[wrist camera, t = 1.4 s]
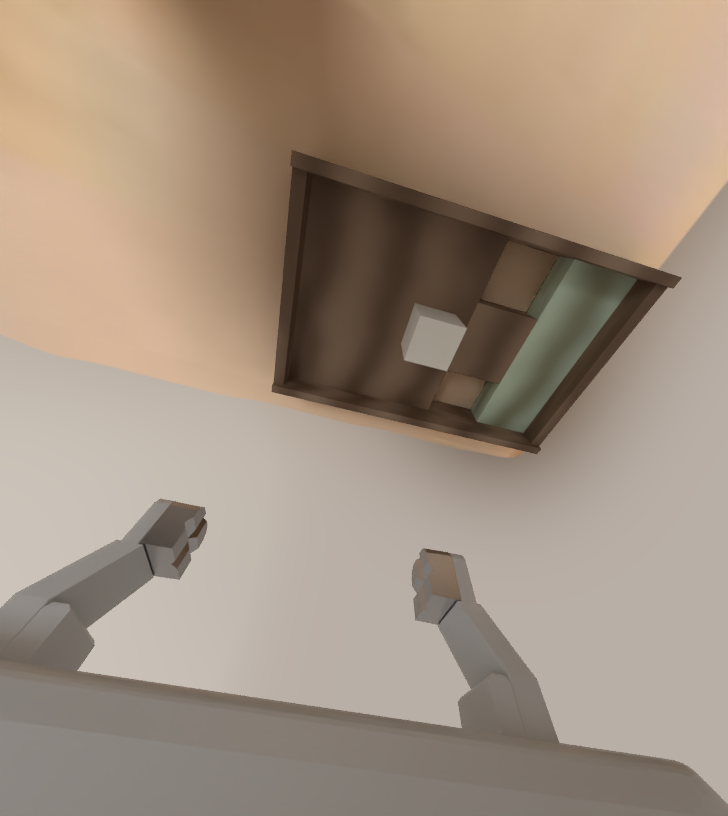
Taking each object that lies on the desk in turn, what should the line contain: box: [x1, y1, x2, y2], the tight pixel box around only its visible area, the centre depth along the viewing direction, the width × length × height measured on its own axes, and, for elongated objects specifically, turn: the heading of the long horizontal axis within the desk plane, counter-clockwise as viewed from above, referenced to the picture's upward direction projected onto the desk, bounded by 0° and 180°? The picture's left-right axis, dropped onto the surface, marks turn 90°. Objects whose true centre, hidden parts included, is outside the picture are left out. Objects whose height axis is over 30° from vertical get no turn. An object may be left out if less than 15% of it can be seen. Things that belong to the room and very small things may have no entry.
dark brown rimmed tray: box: [272, 150, 681, 454], centre depth 27 cm, size 30×19×5 cm, turn 76°
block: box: [401, 303, 467, 371], centre depth 25 cm, size 4×4×4 cm
